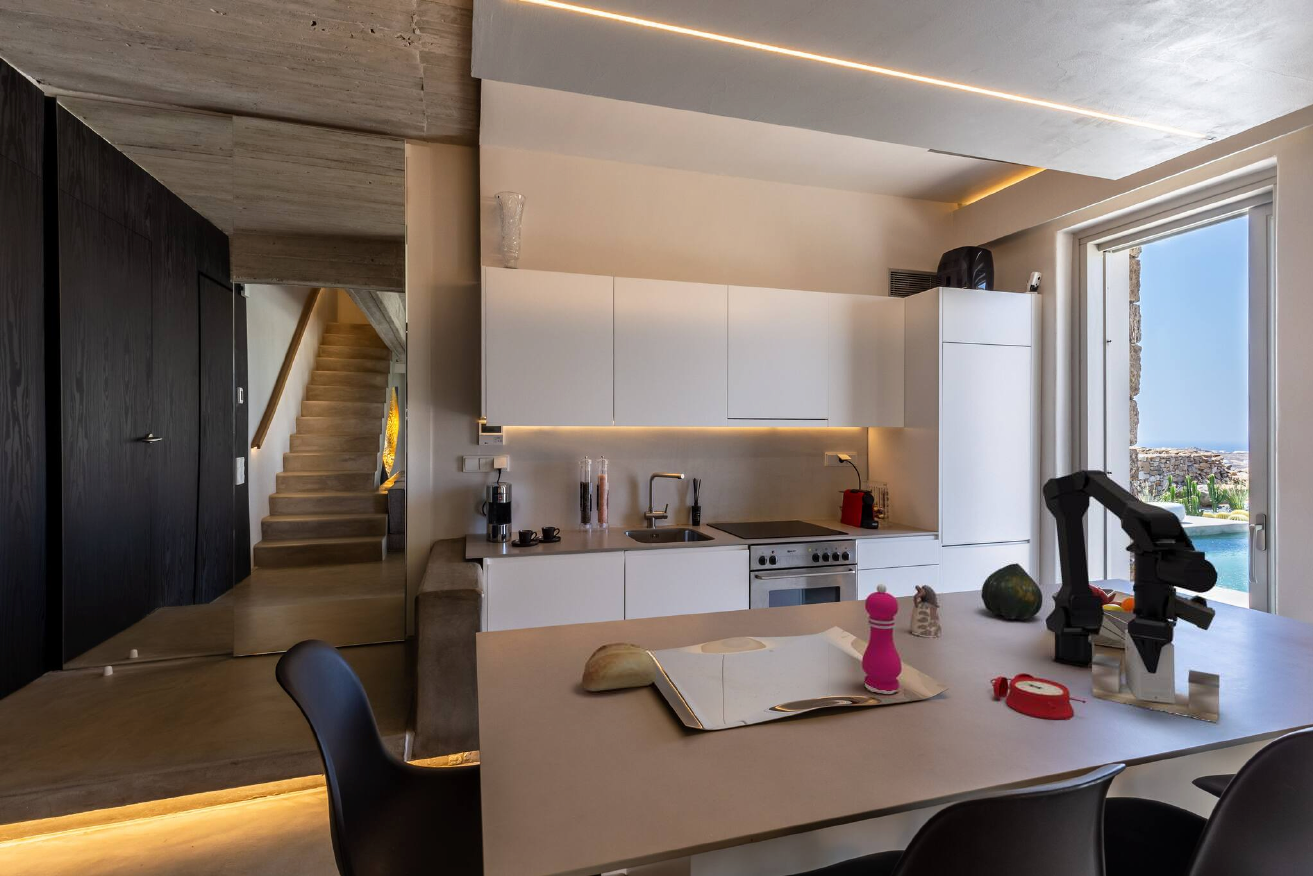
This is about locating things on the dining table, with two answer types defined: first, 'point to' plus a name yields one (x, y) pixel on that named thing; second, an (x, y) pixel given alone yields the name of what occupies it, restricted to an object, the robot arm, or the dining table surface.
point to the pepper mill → (881, 642)
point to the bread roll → (618, 668)
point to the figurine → (925, 612)
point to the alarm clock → (1035, 696)
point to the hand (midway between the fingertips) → (1153, 666)
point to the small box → (1150, 674)
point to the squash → (1012, 593)
